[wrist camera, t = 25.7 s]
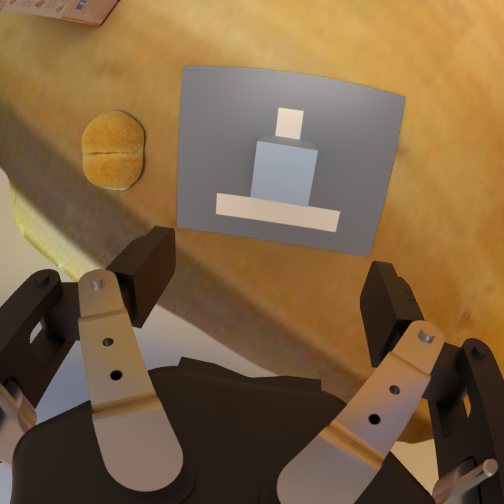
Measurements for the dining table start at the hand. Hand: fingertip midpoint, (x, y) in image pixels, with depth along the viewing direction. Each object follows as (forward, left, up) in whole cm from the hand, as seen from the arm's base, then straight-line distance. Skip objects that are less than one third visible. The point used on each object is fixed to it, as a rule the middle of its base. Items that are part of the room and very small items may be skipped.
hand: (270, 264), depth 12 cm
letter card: (0, 0, -20) cm, 20 cm away
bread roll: (+1, -19, -21) cm, 28 cm away
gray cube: (0, 0, -20) cm, 20 cm away
